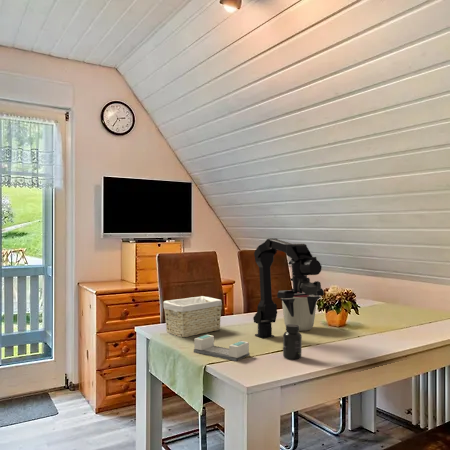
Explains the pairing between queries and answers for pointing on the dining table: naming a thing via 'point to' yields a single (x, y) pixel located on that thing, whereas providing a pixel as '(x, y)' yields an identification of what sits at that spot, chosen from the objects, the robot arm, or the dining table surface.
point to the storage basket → (192, 315)
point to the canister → (299, 313)
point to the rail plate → (219, 353)
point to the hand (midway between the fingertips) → (302, 315)
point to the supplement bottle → (292, 342)
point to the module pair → (234, 349)
